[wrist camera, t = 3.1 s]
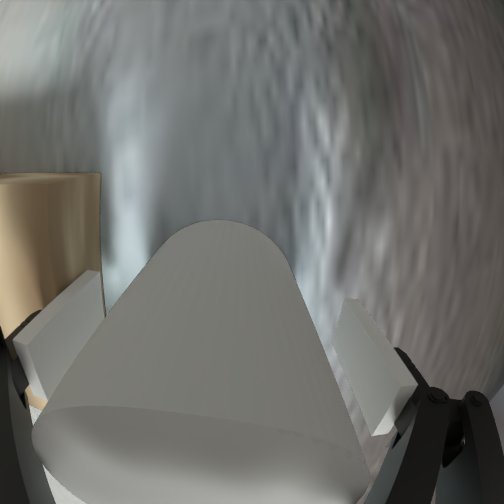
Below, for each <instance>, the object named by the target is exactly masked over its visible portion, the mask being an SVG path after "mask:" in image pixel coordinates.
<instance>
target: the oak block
mask: <svg viewBox="0 0 504 504" xmlns="http://www.w3.org/2000/svg"><path fill="white" fill-rule="evenodd" d="M100 188H101V173H65V172H55V173H9V174H0V326H1V329H2V332H3V335H4V338H5V339H6V338H7V337H8V336H9V335H10V334H11V333H12V332H13V331H14V330H15V329H16V328H17V327H18V326H20V324H21V323H22V322H23V321H25V319H26V318H27V317H28V316H29V315H30V314H32V313H34V312H36V311H38V310H43V309H44V308H45V307H46V306H47V305H48V304H50V303H51V302H52V301H53V300H54V299H55V298H56V297H57V296H58V295H59V294H60V293H62V292H63V291H64V290H65V289H66V288H67V287H68V286H69V285H71V284H72V283H73V282H74V281H75V280H76V279H77V278H79V277H80V276H81V275H82V274H83V273H84V272H86V271H87V270H92V271H99V272H100V279H101V290H102V300H103V309H104V318H105V317H106V312H105V303H104V293H103V281H102V267H101V246H100ZM95 331H96V330H95ZM90 338H91V337H90ZM85 345H86V344H85ZM78 355H79V354H78ZM76 358H77V357H76ZM74 361H75V360H74ZM64 376H65V375H64ZM62 379H63V378H62ZM60 382H61V381H60ZM58 385H59V384H58ZM56 388H57V387H56ZM25 391H26V394H27V396H28V402H29V405H31V406H33V407H35V408H38V409H40V410H43V409H44V407H45V405H46V404H47V402H48V401H49V400H48V401H47V400H45V399H42V398H40V397H37V396H35V395H33V392H32V390H31V388H30V386H29V385H28V387H27V388H26V390H25ZM53 393H54V392H53ZM51 396H52V395H51ZM49 399H50V398H49Z"/></svg>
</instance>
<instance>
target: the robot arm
mask: <svg viewBox="0 0 504 504" xmlns="http://www.w3.org/2000/svg"><path fill="white" fill-rule="evenodd" d="M103 320H104V309H103V300H102V290H101V279H100V272H99V271H92V270H87V271H86V272H84V273H83V274H82V275H81V276H80V277H79V278H77V279H76V280H75V281H74V282H73V283H72V284H71V285H69V286H68V287H67V288H66V289H65V290H64V291H63V292H62V293H60V294H59V295H58V296H57V297H56V298H55V299H54V300H53V301H52V302H51V303H50V304H48V305H47V306H46V307H45V308H44V309H43V310H38V311H36V312H34V313H32V314H30V315H29V316H28V317H27V318H26V319H25V321H23V322H22V323H21V324H20V326H18V327H17V328H16V329H15V330H14V331H13V332H12V333H11V334H10V335H9V336H8V337H7V338H6V339H5V338H4V335H3V332H2V329H1V326H0V504H56V503H55V500H54V498H53V495H52V492H51V490H50V487H49V484H48V481H47V478H46V475H45V472H44V468H43V465H42V462H41V461H40V459H39V458H38V456H37V454H36V452H35V449H34V447H33V443H32V436H31V434H32V428H33V424H32V419H31V414H30V408H29V402H28V396H27V394H26V391H25V390H26V388H27V387H28V385H29V386H30V388H31V390H32V392H33V395H35V396H37V397H40V398H42V399H45V400H47V401H48V400H49V398H50V397H51V395H52V394H53V392H54V391H55V389H56V387H57V386H58V384H59V383H60V381H61V380H62V378H63V377H64V375H65V374H66V372H67V371H68V369H69V368H70V366H71V365H72V363H73V362H74V360H75V359H76V357H77V356H78V354H79V353H80V352H81V350H82V349H83V347H84V346H85V344H86V343H87V342H88V340H89V339H90V337H91V336H92V335H93V333H94V332H95V330H96V329H97V328H98V326H99V325H100V324H101V322H102V321H103ZM332 344H333V346H334V348H335V351H336V353H337V355H338V357H339V360H340V362H341V364H342V367H343V369H344V371H345V374H346V376H347V378H348V380H349V383H350V385H351V387H352V390H353V392H354V395H355V397H356V399H357V402H358V404H359V406H360V409H361V411H362V414H363V416H364V419H365V421H366V423H367V426H368V428H369V431H370V433H371V436H375V435H381V434H387V433H388V432H389V431H390V430H391V428H392V427H393V425H394V424H395V426H396V428H397V430H398V431H397V432H396V434H395V435H394V437H393V438H392V439H391V441H390V442H389V444H388V445H387V446H386V447H387V448H389V450H388V452H387V455H386V457H385V460H384V462H383V464H382V467H381V469H380V471H379V473H378V475H377V478H376V480H375V482H374V484H373V486H372V488H371V490H370V492H369V494H368V496H367V498H366V500H365V502H364V504H430V503H431V500H432V496H433V493H434V490H435V486H436V503H435V504H504V455H503V450H502V447H501V442H500V438H499V434H498V431H497V427H496V423H495V420H494V417H493V413H492V410H491V407H490V404H489V401H488V399H487V398H486V397H485V396H484V395H483V394H482V393H480V392H477V391H469V392H467V393H466V394H465V396H464V398H463V399H462V400H456V399H450V398H449V396H448V395H447V394H446V393H445V392H444V391H443V390H441V389H439V388H436V387H429V385H428V384H427V382H426V381H425V379H424V378H423V377H422V375H421V374H420V372H419V371H418V369H417V368H416V367H415V365H414V364H413V363H411V360H410V358H409V357H408V355H407V354H406V353H405V352H403V351H402V350H401V349H399V348H393V347H392V345H391V344H390V342H389V341H388V340H387V338H386V337H385V335H384V334H383V332H382V331H381V330H380V328H379V327H378V325H377V324H376V323H375V321H374V320H373V319H372V317H371V316H370V314H369V313H368V312H367V310H366V309H365V308H364V306H363V305H362V304H361V302H360V301H359V300H358V299H347V298H345V300H344V304H343V307H342V311H341V314H340V318H339V321H338V325H337V328H336V331H335V334H334V338H333V341H332ZM464 440H465V445H464ZM389 446H390V447H389Z"/></svg>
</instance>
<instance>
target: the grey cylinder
mask: <svg viewBox="0 0 504 504" xmlns="http://www.w3.org/2000/svg"><path fill="white" fill-rule="evenodd" d="M31 436H32V443H33V447H34V449H35V452H36V454H37V456H38V458H39V459H40V461H41V462H42V464H43V465H44V466H45V468H46V469H47V470H48V471H49V473H50V474H51V475H52V476H53V477H54V478H55V479H56V480H57V481H58V482H59V483H60V484H61V485H63V486H64V487H65V488H66V489H67V490H69V491H70V492H71V493H72V494H74V495H75V496H76V497H78V498H79V499H81V500H82V501H84V502H85V503H87V504H355V503H356V502H357V501H358V500H359V499H360V498H361V497H362V496H363V494H364V493H365V492H366V490H367V488H368V485H369V482H370V472H369V469H368V466H367V463H366V460H365V457H364V454H363V452H362V449H361V446H360V443H359V441H358V438H357V435H356V432H355V430H354V427H353V424H352V421H351V419H350V416H349V413H348V411H347V408H346V405H345V403H344V400H343V398H342V395H341V392H340V390H339V387H338V384H337V382H336V379H335V377H334V374H333V372H332V369H331V366H330V364H329V361H328V359H327V356H326V354H325V351H324V349H323V346H322V344H321V341H320V339H319V336H318V334H317V331H316V329H315V326H314V324H313V321H312V319H311V316H310V314H309V312H308V309H307V307H306V304H305V302H304V299H303V297H302V295H301V292H300V290H299V287H298V285H297V283H296V280H295V278H294V275H293V273H292V271H291V268H290V266H289V264H288V261H287V259H286V257H285V256H284V254H283V253H282V251H281V250H280V249H279V247H278V246H277V245H276V244H275V243H274V242H273V241H272V240H271V239H270V238H269V237H267V236H266V235H265V234H263V233H262V232H260V231H259V230H257V229H255V228H253V227H251V226H248V225H246V224H243V223H239V222H235V221H230V220H207V221H201V222H197V223H194V224H191V225H189V226H186V227H184V228H182V229H181V230H179V231H177V232H176V233H174V234H173V235H172V236H171V237H169V238H168V239H167V240H166V241H165V242H164V243H163V245H162V246H161V247H160V248H159V249H158V251H157V252H156V253H155V254H154V255H153V257H152V258H151V259H150V260H149V261H148V263H147V264H146V265H145V266H144V268H143V269H142V270H141V271H140V273H139V274H138V275H137V276H136V278H135V279H134V280H133V281H132V283H131V284H130V285H129V287H128V288H127V289H126V290H125V292H124V293H123V294H122V296H121V297H120V298H119V300H118V301H117V302H116V303H115V305H114V306H113V307H112V309H111V310H110V311H109V313H108V314H107V316H106V317H105V318H104V320H103V321H102V322H101V324H100V325H99V326H98V328H97V329H96V331H95V332H94V333H93V335H92V336H91V338H90V339H89V340H88V342H87V343H86V345H85V346H84V347H83V349H82V350H81V352H80V353H79V355H78V356H77V358H76V359H75V361H74V362H73V363H72V365H71V366H70V368H69V369H68V371H67V372H66V374H65V376H64V377H63V379H62V380H61V382H60V383H59V385H58V386H57V388H56V389H55V391H54V393H53V394H52V396H51V397H50V399H49V401H48V402H47V404H46V405H45V407H44V409H43V410H42V412H41V414H40V415H39V417H38V419H37V420H36V422H35V424H34V425H33V428H32V434H31Z"/></svg>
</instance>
